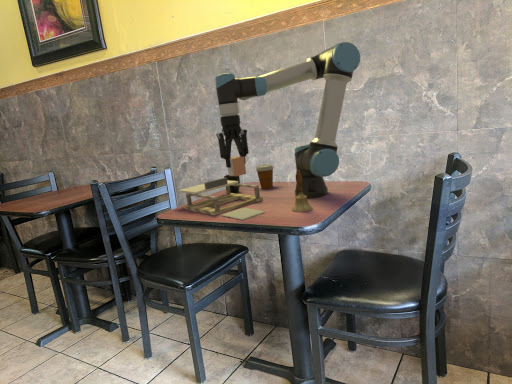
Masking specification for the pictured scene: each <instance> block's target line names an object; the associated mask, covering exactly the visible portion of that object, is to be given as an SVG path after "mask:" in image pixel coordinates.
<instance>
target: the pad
mask: <svg viewBox="0 0 512 384" xmlns="http://www.w3.org/2000/svg"><path fill="white" fill-rule="evenodd" d="M265 212H266V211H265V210H259V209H253V208H248V207H240V208H237V209H234V210H233V211H232V210H231V211H228V212H225V213H222V214H220V215H221V217H224V216H225V218H228V217H230V219H233V218H234V219H235V220H238V219H239V220H240V221H245V219H246V220H248V219H251V218H254V217H257V216H259V215H260V216H261V215H262V214H265Z"/></svg>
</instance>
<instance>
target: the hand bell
mask: <svg viewBox="0 0 512 384" xmlns="http://www.w3.org/2000/svg"><path fill="white" fill-rule="evenodd" d="M295 182H296V184H297V185H298V192H299V195H298V196H295V199H294V200H295V201H294V206H293V207H292V209H291V211H292V212H293V213H304V212H305V213H306V211H307V212H310V211H312V210H313V209H314V208H313V206H312V205H311V204H310V202H309V199H308V198H307V196H306V195H304V194H303V191H302V175H301V173H300V170H297V171H295Z"/></svg>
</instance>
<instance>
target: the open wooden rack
mask: <svg viewBox="0 0 512 384" xmlns="http://www.w3.org/2000/svg"><path fill="white" fill-rule="evenodd" d="M232 186H240V187H244V188H251V189H252V188H253V189H254V195H250V194H244V193H243V194H242V193H231V192H230V186H226V187H225V192H226V194H224V195H220V196H219V195H218V196H215V195H214V196H213V195H207V194H202V193H199V194H196V195H195V194H188V193H185V195H186V196H185V197H186V198H185V199H186V202H187V205H185V206H184V209H185V210H186V211H191V212H195V213H200V214H206V215H210V216H217V215H221V214H225V213H228V212H231V211H232V210H233V211H234V210H237V209H240V208H243V207H246V206H248V204H249V205H251V204H252V205H253V204H255V203H258V202H261V200H262V201H264V197H263V196H261V195H260V188H259V187H260V186H259V185H257V184H256V185H255V184H246V183H240V184H234V185H232ZM192 197H197V198H203V199H205V200H202V201H199V202H194V203H192ZM237 200H241V202H238V203H234V204H232V205H227V206H225V207H222V208H221V207H220V206H221V205H224V204H227V203H231V202H234V201H237ZM246 200H247V201H246ZM245 205H246V206H245ZM242 206H243V207H242ZM213 207H214V208H213Z"/></svg>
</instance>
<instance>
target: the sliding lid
mask: <svg viewBox="0 0 512 384" xmlns="http://www.w3.org/2000/svg"><path fill="white" fill-rule="evenodd" d="M237 183H238V181H230V180H227V178H224V177H222V178H217V179H214V180H210V181H207V182H204V183H202V184H198V185H193V186H190V187H185V188H181V189H178V190H177V191H178V193H180V194H181V193H182V194H186V193H188V194H195V195H196V194H202V193H203V194H204V193H207V192H211V191H213V190H218V189H221V188H226V186H230V185H234V184H237Z"/></svg>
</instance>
